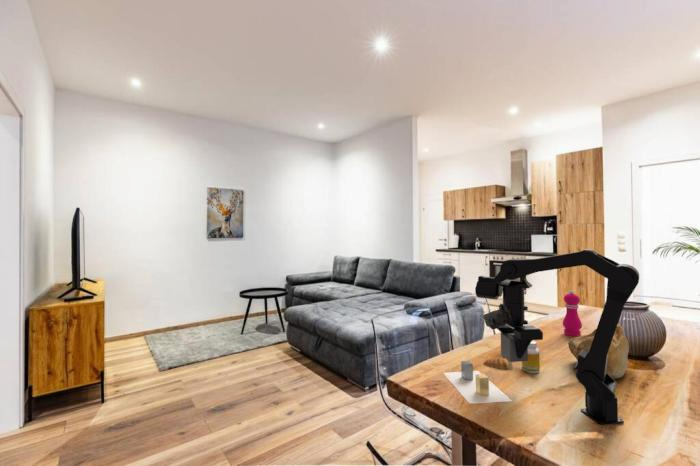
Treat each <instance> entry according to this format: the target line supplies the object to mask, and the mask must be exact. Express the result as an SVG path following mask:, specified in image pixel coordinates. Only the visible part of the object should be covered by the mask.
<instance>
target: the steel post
mask: <svg viewBox="0 0 700 466" xmlns="http://www.w3.org/2000/svg"><path fill="white" fill-rule="evenodd" d="M460 363H461V364H460V367H461V369H460V370H461V371H460V372H461V376H462V378H463V379H464V380H473V371H474V364H473V363H472V362H471V361H470V360H461V361H460Z"/></svg>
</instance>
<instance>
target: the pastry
mask: <svg viewBox="0 0 700 466" xmlns="http://www.w3.org/2000/svg"><path fill="white" fill-rule="evenodd" d="M483 365H484V366H487V367H491V368H495V369H499V370H509V371H513V370H514V367H513V362H510V361H508V360H507V359H506V358H504V357H498V358H497V357H495V358H490V359H486V360H485V361H484V362H483Z"/></svg>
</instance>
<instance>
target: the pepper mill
mask: <svg viewBox="0 0 700 466" xmlns="http://www.w3.org/2000/svg"><path fill="white" fill-rule="evenodd" d="M563 301H564V302H565V308H566V312H565V316H564V318H563V321H562V326H563V327H564V329H563V333H564V335H567V336H570V337H578V336H582V335H581V334H582V333H581V329H582V327H583V326H582V324H583V323H582V321H581V319H580V316H579V314H578V309H579V303H580V302H581V301H580V296H579V295H578V294H576V293H575V292H574V290H572V289H570V290H569V291H568V293H566V294H564V297H563Z"/></svg>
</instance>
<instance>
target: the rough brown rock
mask: <svg viewBox="0 0 700 466" xmlns="http://www.w3.org/2000/svg"><path fill="white" fill-rule="evenodd" d="M596 329H597V328H596ZM596 329H594V330H593V331H591V333H589V334H585V335H580V336H575V337H573V338H571V339H569V341H568V343H567V346H568V349H569V351H570V353H571V354H572V355H573V356H574V358H575V359H576V361H577V362H578V356H579V354H580V352H581V350H582V349H583V350H585V351H587V352H588V350H589V349H590V347H591V345H592V342H593V339H594V336H595V333H596ZM629 347H630V346H629V341H628V339H627V336H626V332H625V330H624V328H623V326H622V325H621V324H619V323H618V324H617V327H616V330H615V333H614V336H613V339H612V342H611V345H610V348H609V351H608V357H607V369H606V372H607V373H608V374H609V375H610V376H611V377H612V378H613V379H614V380H615V379H620V378H623V377H624V375H625V373H626V371H627V368H628V366H629V359H628V357H629V355H628V354H629V352H630V350H629V349H630V348H629Z"/></svg>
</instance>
